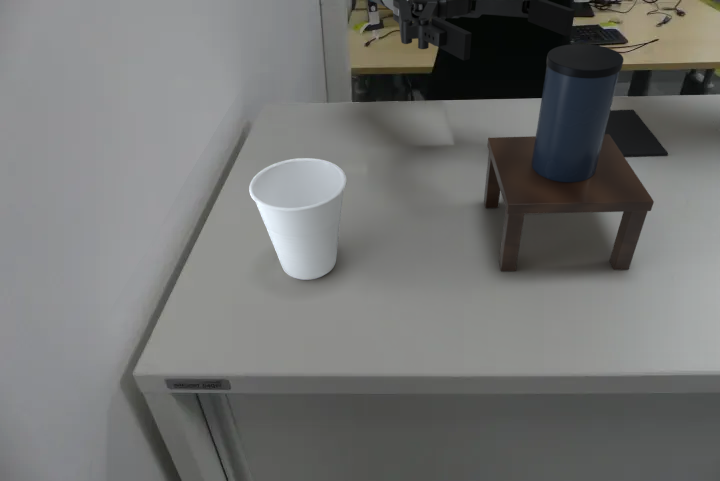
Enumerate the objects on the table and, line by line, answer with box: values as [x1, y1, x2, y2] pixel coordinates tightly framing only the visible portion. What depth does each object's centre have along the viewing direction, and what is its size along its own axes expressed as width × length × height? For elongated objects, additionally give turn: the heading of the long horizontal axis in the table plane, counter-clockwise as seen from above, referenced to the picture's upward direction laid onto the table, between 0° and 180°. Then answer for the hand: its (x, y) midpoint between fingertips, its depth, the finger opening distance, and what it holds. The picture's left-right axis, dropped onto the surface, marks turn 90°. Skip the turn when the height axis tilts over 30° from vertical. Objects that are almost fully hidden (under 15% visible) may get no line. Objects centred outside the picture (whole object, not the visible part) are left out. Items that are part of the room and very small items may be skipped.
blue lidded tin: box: [532, 43, 624, 182], centre depth 57 cm, size 7×7×12 cm
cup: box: [248, 157, 348, 281], centre depth 60 cm, size 10×10×11 cm
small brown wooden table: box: [483, 134, 655, 272], centre depth 63 cm, size 14×14×9 cm
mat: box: [605, 109, 669, 158], centre depth 84 cm, size 14×14×1 cm
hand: (521, 34), depth 60 cm, fingers open, 13 cm apart
